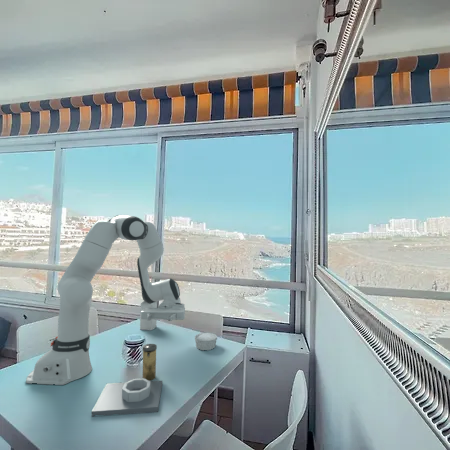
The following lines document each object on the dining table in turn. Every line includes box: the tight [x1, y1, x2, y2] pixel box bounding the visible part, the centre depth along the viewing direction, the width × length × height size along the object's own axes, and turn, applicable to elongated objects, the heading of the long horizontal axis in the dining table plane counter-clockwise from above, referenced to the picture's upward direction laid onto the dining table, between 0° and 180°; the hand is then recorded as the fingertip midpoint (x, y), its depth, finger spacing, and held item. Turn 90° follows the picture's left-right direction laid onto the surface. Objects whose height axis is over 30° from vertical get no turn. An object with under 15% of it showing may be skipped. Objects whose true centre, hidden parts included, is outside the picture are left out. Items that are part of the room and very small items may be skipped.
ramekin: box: [194, 332, 218, 351], centre depth 140 cm, size 11×11×5 cm
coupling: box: [142, 343, 158, 381], centre depth 110 cm, size 8×5×12 cm
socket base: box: [91, 378, 163, 417], centre depth 96 cm, size 20×16×4 cm
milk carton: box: [139, 300, 158, 331], centre depth 165 cm, size 7×7×19 cm
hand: (159, 319), depth 122 cm, fingers open, 8 cm apart
